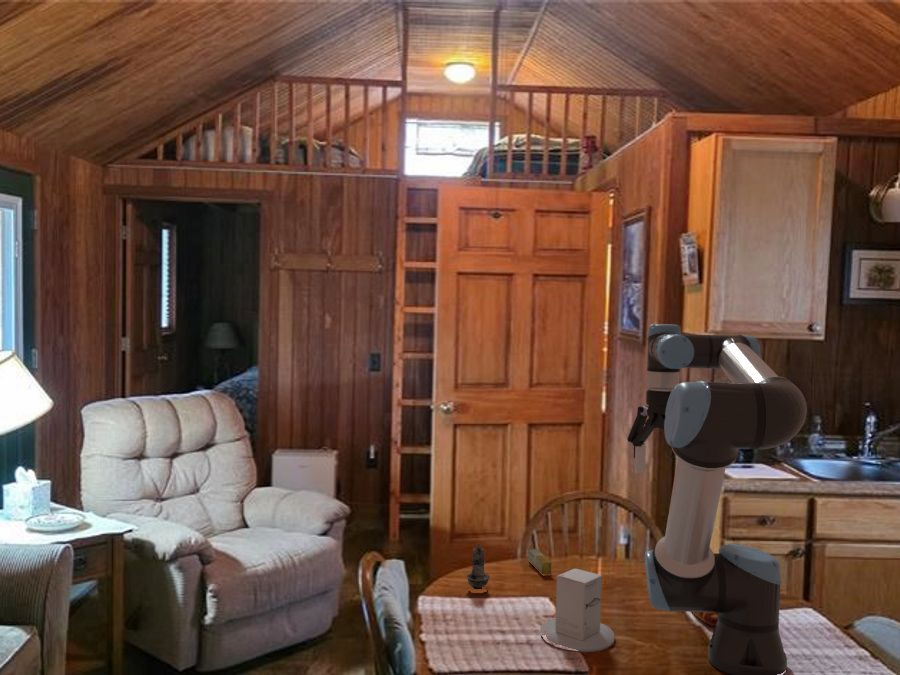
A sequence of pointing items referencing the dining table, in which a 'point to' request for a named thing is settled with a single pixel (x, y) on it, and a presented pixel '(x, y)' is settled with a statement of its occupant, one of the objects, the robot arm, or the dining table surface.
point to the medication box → (540, 561)
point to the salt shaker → (478, 569)
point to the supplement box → (578, 603)
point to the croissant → (708, 617)
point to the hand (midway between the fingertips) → (660, 478)
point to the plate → (589, 644)
